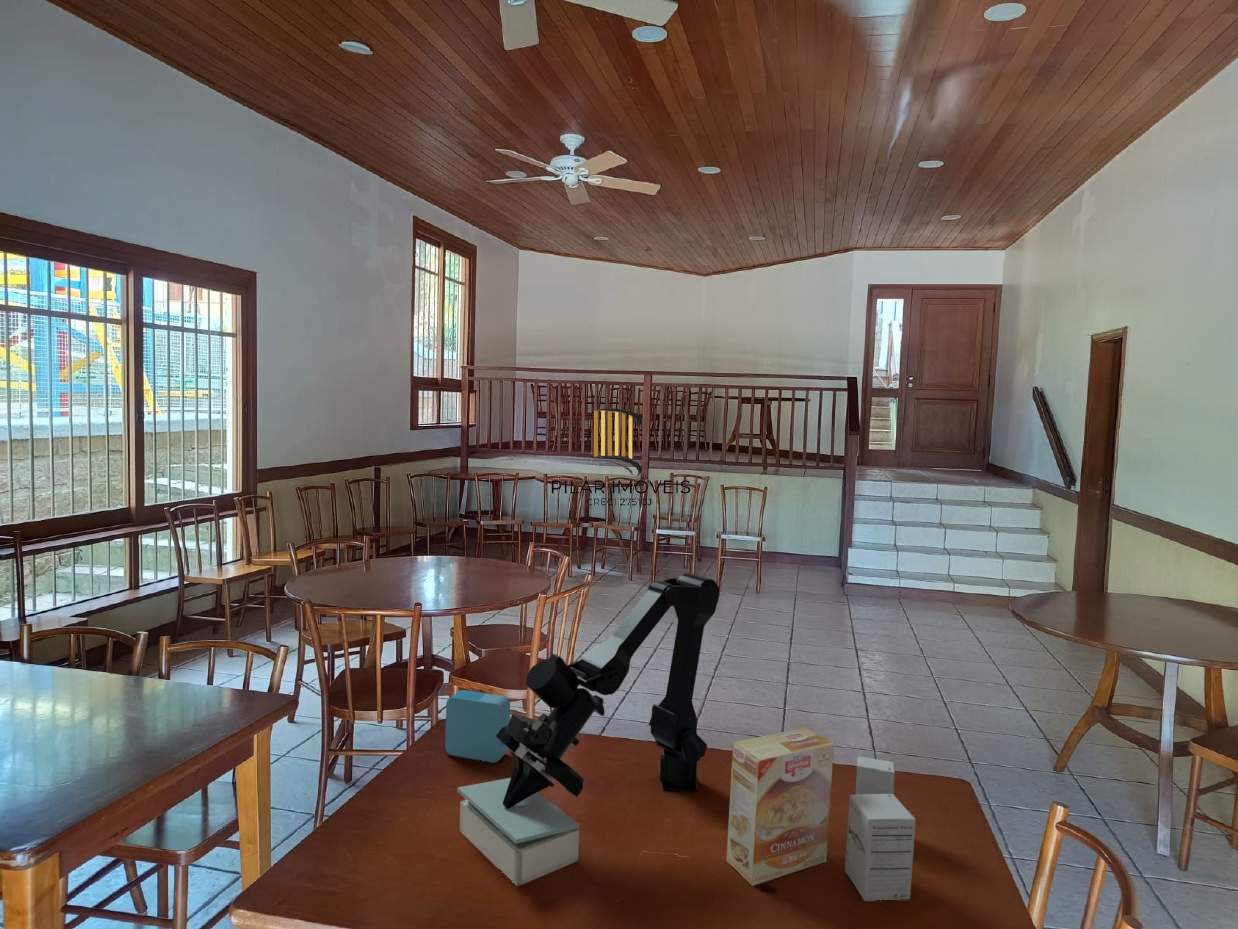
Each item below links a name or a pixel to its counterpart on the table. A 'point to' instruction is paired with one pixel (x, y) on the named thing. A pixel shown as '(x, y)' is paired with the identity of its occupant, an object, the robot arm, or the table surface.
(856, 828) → the supplement box
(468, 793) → the box lid
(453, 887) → the table surface
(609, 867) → the table surface
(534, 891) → the table surface
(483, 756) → the blue rounded square block
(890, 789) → the skincare box
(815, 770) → the coffeecake box
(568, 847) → the cream box
